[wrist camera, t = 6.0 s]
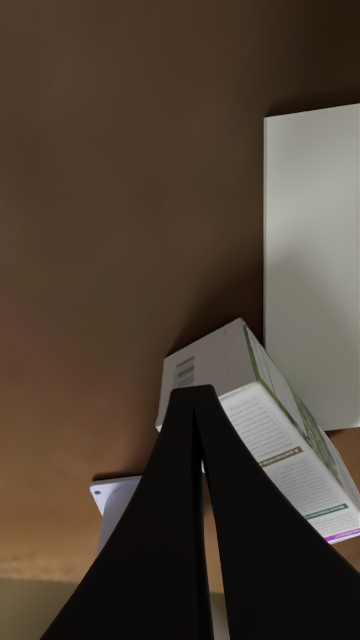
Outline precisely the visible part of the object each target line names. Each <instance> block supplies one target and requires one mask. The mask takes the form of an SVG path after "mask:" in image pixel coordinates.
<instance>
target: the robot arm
mask: <svg viewBox="0 0 360 640" xmlns="http://www.w3.org/2000/svg"><path fill="white" fill-rule="evenodd" d="M202 463H203V468H204V472H205V477H206V482H207V487H208V491H209V496H210V501H211V506H212V510H213V515H214V520H215V525H216V531H217V539H218V547H219V555H220V563H221V571H222V579H223V587H224V595H225V602H226V611H227V618H228V626H229V635H230V640H360V573H359V572H358V571H357V570H356V569H355V568H354V567H353V566H352V565H351V564H350V563H349V562H348V561H347V560H346V559H344V558H343V557H342V556H341V555H340V554H339V553H338V552H337V551H336V550H335V549H334V548H333V547H332V546H331V545H330V544H329V543H328V542H327V541H326V540H325V539H324V538H323V537H322V536H321V535H320V533H319V532H318V531H317V530H316V529H315V528H314V527H313V526H312V525H311V524H310V523H309V522H308V521H307V520H306V519H305V518H304V517H303V516H302V515H301V513H300V512H299V511H298V510H297V509H296V508H295V507H294V506H293V505H292V504H291V502H290V501H289V500H288V499H287V498H286V497H285V496H284V494H283V493H282V492H281V491H280V490H279V489H278V487H277V486H276V485H275V484H274V482H273V481H272V480H271V479H270V478H269V476H268V475H267V474H266V472H265V471H264V470H263V469H262V467H261V466H260V465H259V463H258V462H257V461H256V459H255V458H254V456H253V455H252V454H251V452H250V451H249V449H248V448H247V447H246V445H245V444H244V442H243V441H242V439H241V438H240V436H239V434H238V433H237V431H236V430H235V428H234V426H233V425H232V423H231V422H230V420H229V418H228V416H227V415H226V413H225V411H224V409H223V407H222V405H221V403H220V401H219V399H218V397H217V394H216V392H215V389H214V386H213V385H211V384H206V385H198V386H191V387H183V388H175V389H173V390H172V391H171V392H170V397H169V402H168V406H167V410H166V414H165V417H164V421H163V424H162V427H161V430H160V432H159V435H158V438H157V441H156V444H155V446H154V449H153V451H152V454H151V456H150V459H149V461H148V463H147V466H146V468H145V470H144V473H143V475H141V476H133V477H125V478H116V479H108V480H99V481H93V482H92V483H91V484H90V491H91V493H92V495H93V497H94V499H95V501H96V504H97V506H98V508H99V510H100V512H101V514H102V517H103V518H102V524H101V530H100V536H99V542H98V548H97V555H96V559H95V561H94V562H93V564H92V566H91V567H90V569H89V570H88V572H87V573H86V575H85V576H84V578H83V579H82V581H81V582H80V584H79V585H78V587H77V588H76V590H75V591H74V593H73V594H72V596H71V597H70V598H69V600H68V601H67V603H66V604H65V605H64V607H63V608H62V609H61V611H60V612H59V614H58V615H57V616H56V618H55V619H54V620H53V622H52V623H51V624H50V626H49V628H48V629H47V630H46V631H45V633H44V634H43V635H42V637H41V638H40V640H214V633H213V632H214V631H213V622H212V613H211V603H210V594H209V584H208V575H207V565H206V556H205V544H204V520H203V482H202Z"/></svg>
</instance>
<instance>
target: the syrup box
mask: <svg viewBox="0 0 360 640" xmlns="http://www.w3.org/2000/svg"><path fill="white" fill-rule="evenodd" d="M206 384H211V385H213V386H214V389H215V392H216V394H217V397H218V399H219V401H220V403H221V405H222V407H223V409H224V411H225V413H226V415H227V416H228V418H229V420H230V422H231V423H232V425H233V426H234V428H235V430H236V431H237V433H238V434H239V436H240V438H241V439H242V441H243V442H244V444H245V445H246V447H247V448H248V449H249V451H250V452H251V454H252V455H253V456H254V458H255V459H256V461H257V462H258V463H259V465H260V466H261V467H262V469H263V470H264V471H265V472H266V474H267V475H268V476H269V478H270V479H271V480H272V481H273V482H274V484H275V485H276V486H277V487H278V489H279V490H280V491H281V492H282V493H283V494H284V496H285V497H286V498H287V499H288V500H289V501H290V502H291V504H292V505H293V506H294V507H295V508H296V509H297V510H298V511H299V512H300V513H301V515H302V516H303V517H304V518H305V519H306V520H307V521H308V522H309V523H310V524H311V525H312V526H313V527H314V528H315V529H316V530H317V531H318V532H319V533H320V535H321V536H322V537H323V538H324V539H325V540H326V541H327V542H328V543H329V544H333V543H336V542H340V541H343V540H346V539H349V538H352V537H355V536H358V535H360V493H359V491H358V489H357V487H356V485H355V483H354V482H353V480H352V478H351V476H350V474H349V472H348V470H347V468H346V466H345V465H344V463H343V461H342V458H341V456H340V454H339V452H338V451H337V449H336V448H335V447H334V445H333V444H332V442H331V441H330V440H329V438H328V437H327V435H326V434H325V432H324V431H323V430H322V428H321V427H320V425H319V424H318V423H317V421H316V420H315V418H314V417H313V416H312V414H311V413H310V412H309V410H308V409H307V407H306V406H305V405H304V403H303V402H302V401H301V399H300V398H299V397H298V395H297V394H296V392H295V391H294V390H293V388H292V387H291V385H290V384H289V382H288V381H287V380H286V378H285V377H284V376H283V374H282V373H281V371H280V370H279V369H278V367H277V366H276V364H275V363H274V362H273V360H272V359H271V357H270V356H269V355H268V353H267V352H266V350H265V349H264V348H263V346H262V345H261V344H260V342H259V341H258V340H257V338H256V337H255V335H254V334H253V333H252V331H251V330H250V329H249V327H248V326H247V324H246V323H245V322H244V320H243V319H242V318H238V319H236V320H234V321H233V322H231V323H229V324H227V325H225V326H223V327H221V328H220V329H218V330H216V331H214V332H212V333H210V334H208V335H206V336H205V337H203V338H201V339H199V340H197V341H195V342H194V343H192V344H190V345H188V346H187V347H185V348H183V349H181V350H179V351H177V352H176V353H174V354H172V355H170V356H169V357H167V358H165V359H164V367H163V375H162V383H161V391H160V400H159V412H158V418H157V419H156V428H157V429H158V431H159V432H160V430H161V427H162V424H163V421H164V417H165V414H166V410H167V406H168V402H169V397H170V392H171V391H172V390H173V389H175V388H183V387H191V386H198V385H206ZM202 472H204V468H203V463H202ZM204 473H205V472H204Z"/></svg>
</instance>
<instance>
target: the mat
mask: <svg viewBox="0 0 360 640" xmlns="http://www.w3.org/2000/svg"><path fill="white" fill-rule="evenodd" d="M263 348H264V349H265V350H266V352H267V353H268V355H269V356H270V357H271V359H272V360H273V362H274V363H275V364H276V366H277V367H278V369H279V370H280V371H281V373H282V374H283V376H284V377H285V378H286V380H287V381H288V382H289V384H290V385H291V387H292V388H293V390H294V391H295V392H296V394H297V395H298V397H299V398H300V399H301V401H302V402H303V403H304V405H305V406H306V407H307V409H308V410H309V412H310V413H311V414H312V416H313V417H314V418H315V420H316V421H317V423H318V424H319V425H320V427H321V428H322V430H323V431H328V430H336V429H344V428H353V427H360V103H359V104H353V105H346V106H339V107H333V108H326V109H320V110H313V111H306V112H300V113H293V114H287V115H280V116H273V117H267V118H264V297H263Z"/></svg>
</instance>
